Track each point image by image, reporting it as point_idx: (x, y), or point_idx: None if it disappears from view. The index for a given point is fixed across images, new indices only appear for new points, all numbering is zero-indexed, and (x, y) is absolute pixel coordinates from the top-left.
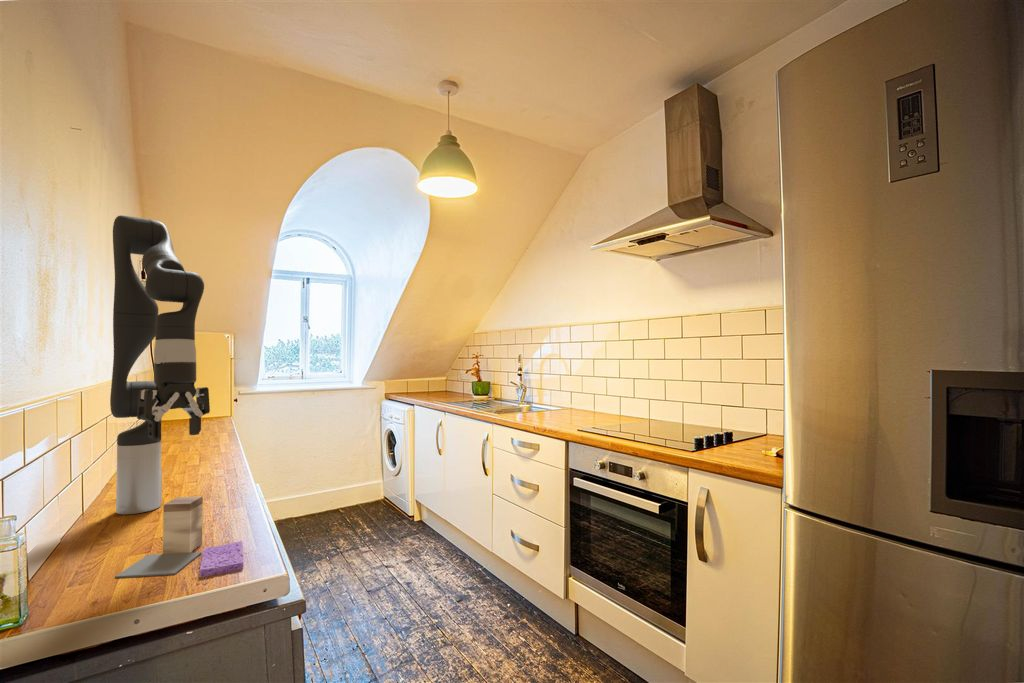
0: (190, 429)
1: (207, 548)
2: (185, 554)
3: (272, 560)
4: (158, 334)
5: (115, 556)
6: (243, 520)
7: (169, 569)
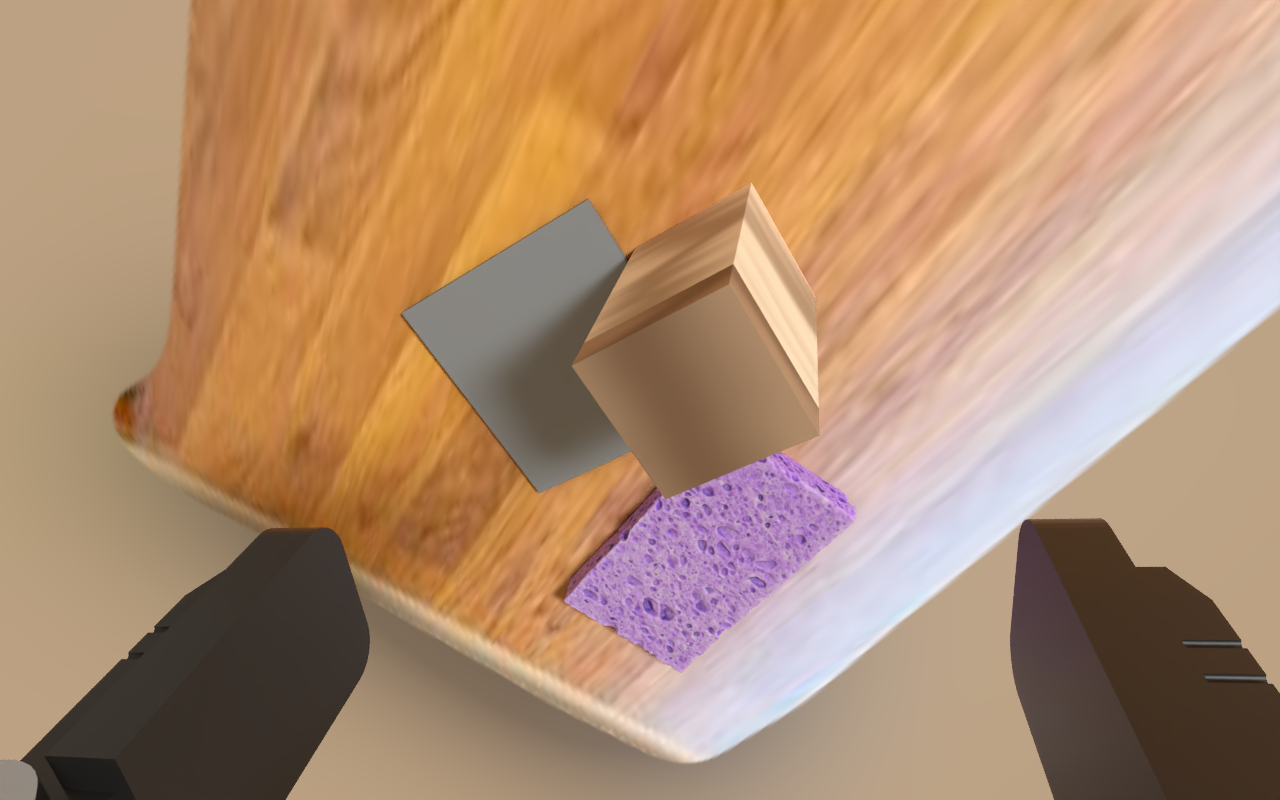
0: (1051, 607)
1: None
2: None
3: (781, 689)
4: None
5: (507, 19)
6: (1268, 156)
7: (546, 447)
